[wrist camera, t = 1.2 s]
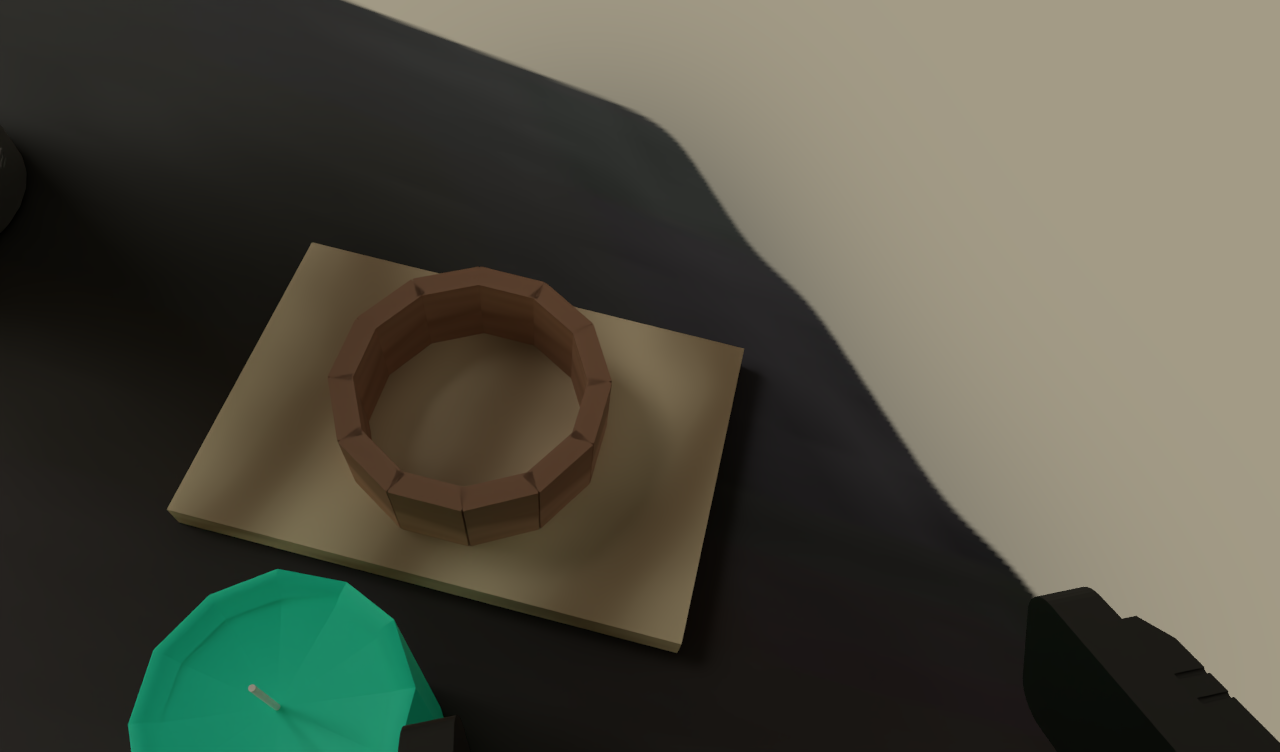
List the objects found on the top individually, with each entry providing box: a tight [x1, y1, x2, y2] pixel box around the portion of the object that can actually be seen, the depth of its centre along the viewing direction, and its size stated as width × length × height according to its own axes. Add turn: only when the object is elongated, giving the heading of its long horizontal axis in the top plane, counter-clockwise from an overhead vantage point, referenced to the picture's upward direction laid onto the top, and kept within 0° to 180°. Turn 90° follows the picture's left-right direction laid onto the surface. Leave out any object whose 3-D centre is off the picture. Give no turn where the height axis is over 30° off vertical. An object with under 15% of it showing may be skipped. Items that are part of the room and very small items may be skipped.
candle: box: [128, 569, 444, 752], centre depth 24 cm, size 6×6×12 cm
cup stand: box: [167, 242, 744, 653], centre depth 33 cm, size 18×12×4 cm, turn 77°
